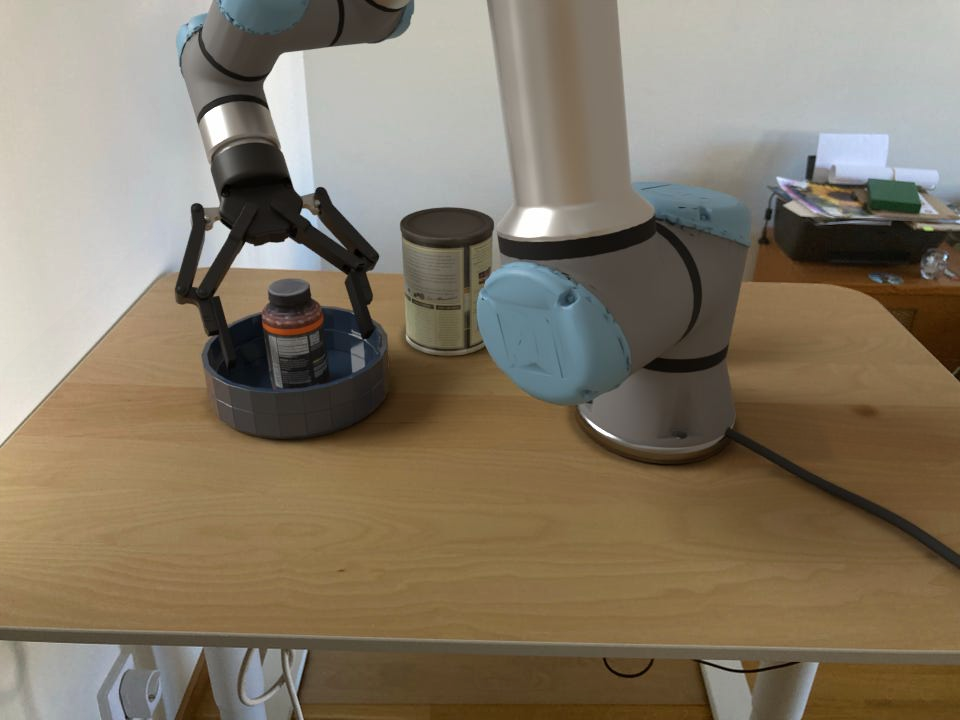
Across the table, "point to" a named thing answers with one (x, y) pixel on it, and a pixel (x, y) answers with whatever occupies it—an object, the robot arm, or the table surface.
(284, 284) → the supplement bottle
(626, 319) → the robot arm
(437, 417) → the table surface
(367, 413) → the bowl
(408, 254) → the coffee can
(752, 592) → the table surface
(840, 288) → the table surface
